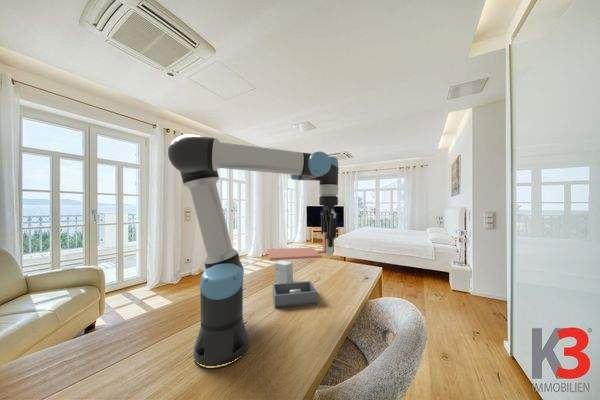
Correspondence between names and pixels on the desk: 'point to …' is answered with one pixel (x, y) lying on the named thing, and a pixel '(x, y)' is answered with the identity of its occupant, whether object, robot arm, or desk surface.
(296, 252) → the lid
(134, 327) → the desk surface
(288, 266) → the small box
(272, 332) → the desk surface
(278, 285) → the tub
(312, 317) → the desk surface
